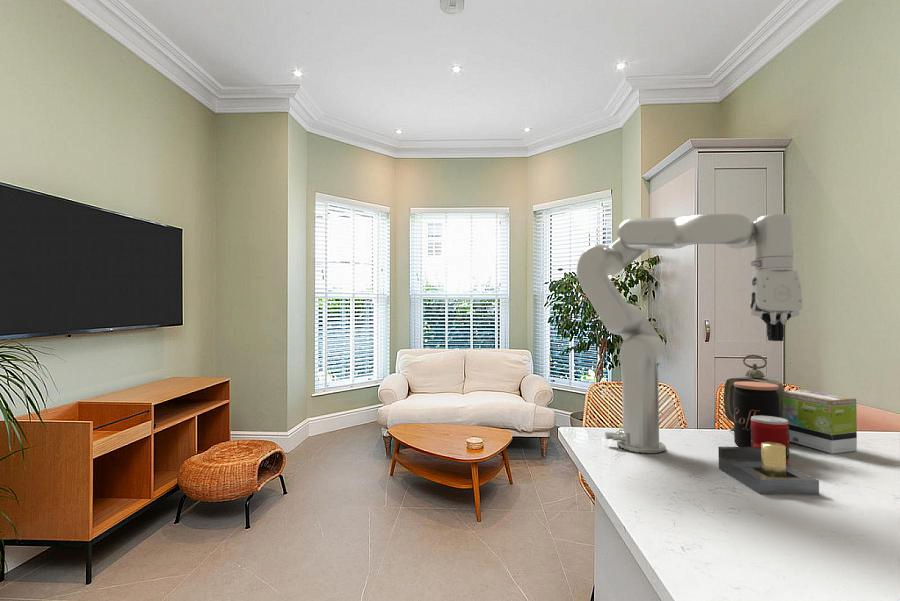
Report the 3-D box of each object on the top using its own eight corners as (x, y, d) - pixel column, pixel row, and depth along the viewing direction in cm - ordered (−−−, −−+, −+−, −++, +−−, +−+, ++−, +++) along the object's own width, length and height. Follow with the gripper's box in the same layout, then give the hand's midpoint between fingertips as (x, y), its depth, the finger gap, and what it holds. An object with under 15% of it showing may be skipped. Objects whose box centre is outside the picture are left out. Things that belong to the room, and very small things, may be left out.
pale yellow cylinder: (770, 489, 100) (769, 447, 101) (757, 482, 105) (756, 441, 105) (791, 490, 100) (790, 447, 101) (777, 482, 105) (776, 442, 105)
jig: (760, 494, 98) (759, 468, 98) (718, 469, 114) (718, 446, 114) (819, 495, 98) (818, 468, 98) (769, 469, 114) (768, 447, 114)
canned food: (795, 468, 115) (794, 422, 115) (759, 465, 116) (758, 421, 117) (780, 458, 122) (779, 416, 123) (746, 456, 124) (745, 414, 124)
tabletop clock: (723, 432, 149) (723, 353, 150) (740, 429, 153) (740, 352, 154) (772, 443, 136) (772, 357, 137) (790, 440, 141) (789, 356, 141)
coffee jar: (725, 446, 134) (725, 382, 134) (749, 441, 138) (748, 380, 139) (764, 456, 124) (763, 387, 125) (788, 451, 129) (787, 385, 129)
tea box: (778, 440, 140) (777, 390, 141) (803, 437, 143) (802, 388, 144) (832, 454, 126) (831, 398, 126) (858, 451, 129) (857, 397, 129)
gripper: (752, 263, 111) (753, 341, 111) (816, 263, 111) (818, 341, 110) (734, 267, 119) (735, 339, 118) (794, 267, 118) (796, 340, 118)
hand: (775, 340), depth 114 cm, fingers closed
